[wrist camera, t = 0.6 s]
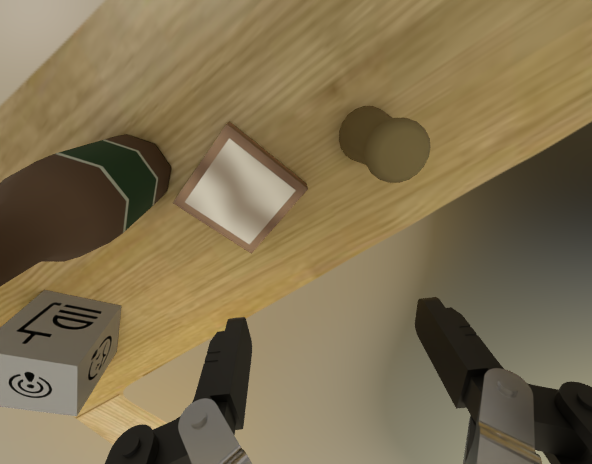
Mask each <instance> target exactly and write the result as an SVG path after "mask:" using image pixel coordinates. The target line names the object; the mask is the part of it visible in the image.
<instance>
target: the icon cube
mask: <svg viewBox="0 0 592 464" xmlns="http://www.w3.org/2000/svg"><path fill="white" fill-rule="evenodd" d="M120 315H121V306H120V305H115V304H111V303H106V302H101V301H96V300H91V299H86V298H81V297H77V296H72V295H67V294H62V293H57V292H52V291H48V290H44V291H43V292H41V293H40V294H39V295H38V296H37V297H36V298H34V299H33V300H32V301H31V302H30V303H29V304H27V305H26V306H25V307H24V308H23V309H22V310H20V311H19V312H18V313H17V314H16V315H15V316H13V317H12V318H11V319H10V320H9V321H8V322H6V323H5V324H4V325H3V326H2V327H1V328H0V407H8V408H16V409H24V410H32V411H40V412H47V413H55V414H63V415H71V416H77V415H78V414H79V412H80V410H81V409H82V407H83V406H84V404H85V402H86V401H87V399H88V397H89V396H90V394H91V393H92V391H93V389H94V388H95V386H96V384H97V383H98V381H99V380H100V378H101V376H102V375H103V373H104V371H105V370H106V368H107V367H108V365H109V363H110V362H111V360H112V359H113V357H114V355H115V354H116V352H117V345H118V335H119V325H120Z"/></svg>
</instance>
